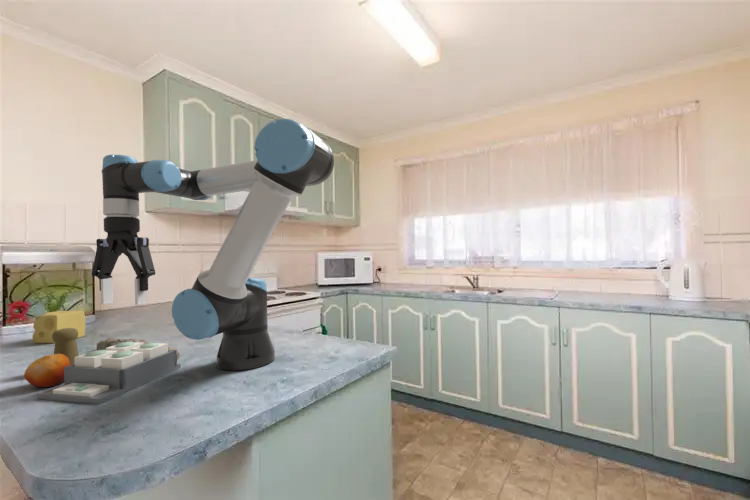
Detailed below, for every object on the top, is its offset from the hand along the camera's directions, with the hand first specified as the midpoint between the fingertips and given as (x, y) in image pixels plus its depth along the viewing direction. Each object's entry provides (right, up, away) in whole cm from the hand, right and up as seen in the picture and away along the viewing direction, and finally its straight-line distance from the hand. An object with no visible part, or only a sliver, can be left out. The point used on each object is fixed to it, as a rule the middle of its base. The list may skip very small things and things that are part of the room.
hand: (124, 303), depth 90 cm
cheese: (-50, -19, +37) cm, 65 cm away
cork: (-18, -18, +3) cm, 26 cm away
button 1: (-1, -14, -7) cm, 16 cm away
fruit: (-13, -18, -7) cm, 23 cm away
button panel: (+3, -18, -6) cm, 19 cm away
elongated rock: (-8, -18, +16) cm, 26 cm away
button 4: (+8, -13, -2) cm, 16 cm away
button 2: (+6, -14, -9) cm, 17 cm away
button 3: (0, -14, 0) cm, 14 cm away
